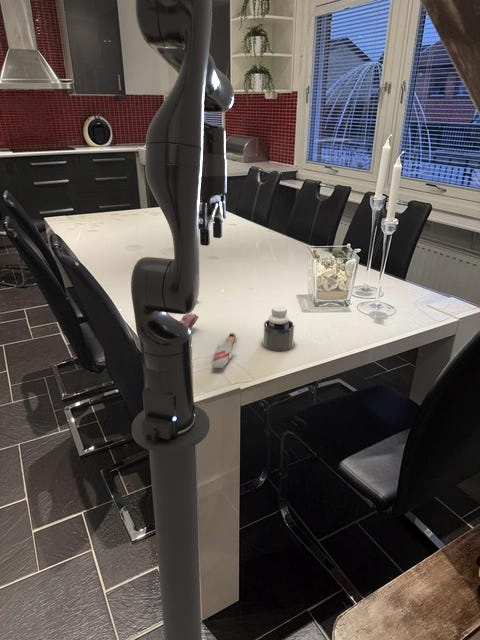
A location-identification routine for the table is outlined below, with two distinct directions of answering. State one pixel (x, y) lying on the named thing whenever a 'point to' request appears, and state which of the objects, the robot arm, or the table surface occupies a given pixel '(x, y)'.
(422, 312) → the table surface
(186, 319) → the video game controller
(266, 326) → the holder
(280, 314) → the pill bottle
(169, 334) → the robot arm
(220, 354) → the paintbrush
